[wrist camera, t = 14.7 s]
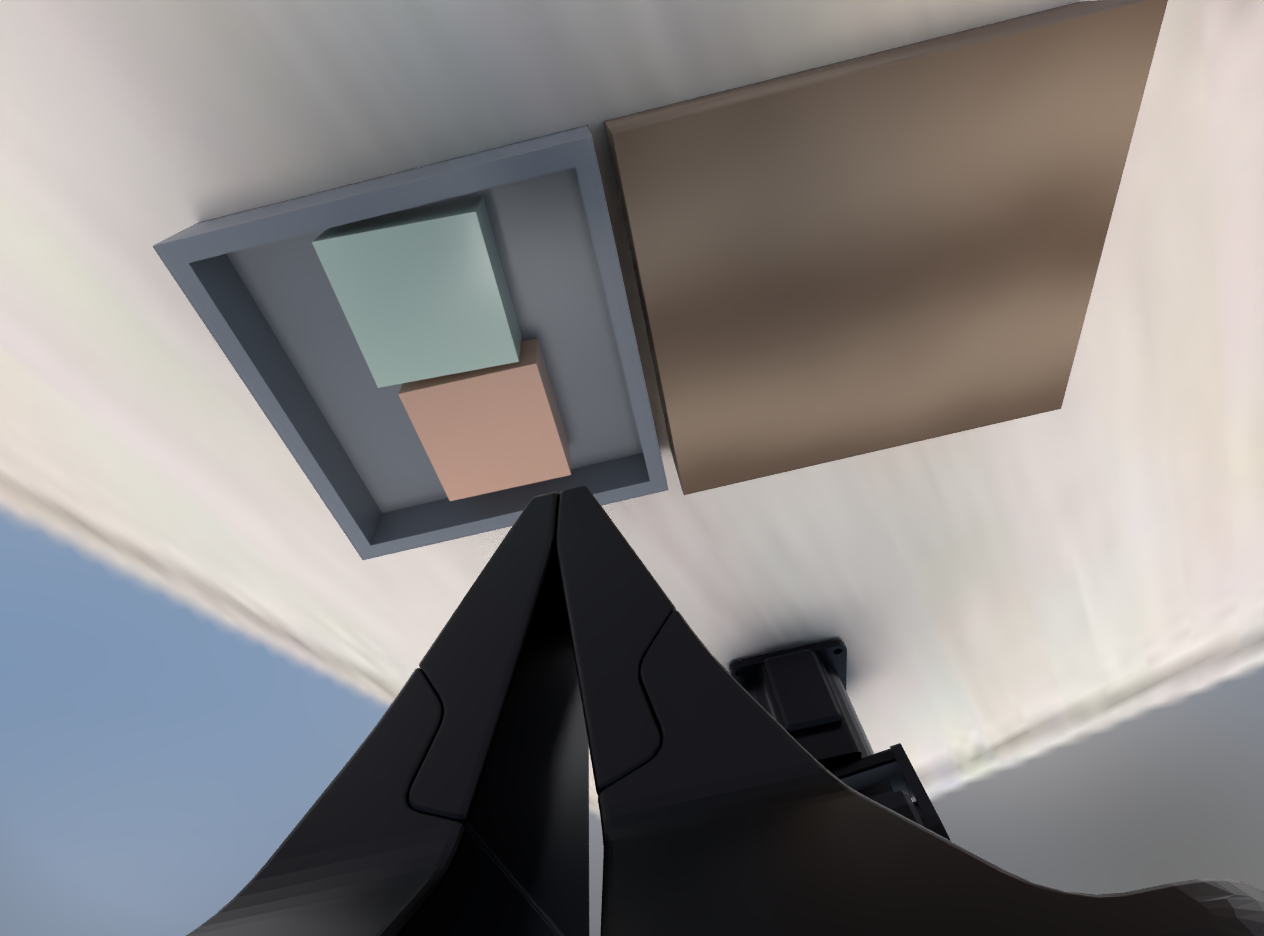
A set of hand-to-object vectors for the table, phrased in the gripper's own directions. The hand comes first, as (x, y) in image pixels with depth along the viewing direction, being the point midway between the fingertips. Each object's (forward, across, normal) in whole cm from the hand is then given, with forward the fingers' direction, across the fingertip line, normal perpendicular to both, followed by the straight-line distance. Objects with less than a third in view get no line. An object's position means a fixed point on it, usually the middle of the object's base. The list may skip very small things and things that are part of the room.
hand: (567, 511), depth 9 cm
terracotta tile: (+10, +4, +4) cm, 12 cm away
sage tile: (+10, +4, 0) cm, 11 cm away
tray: (+13, +4, +2) cm, 14 cm away
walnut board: (+13, -9, +2) cm, 16 cm away
